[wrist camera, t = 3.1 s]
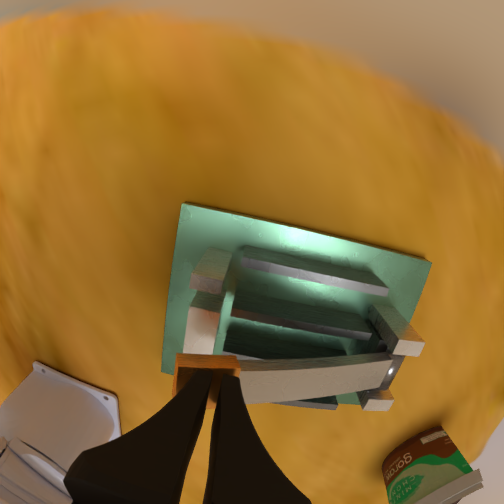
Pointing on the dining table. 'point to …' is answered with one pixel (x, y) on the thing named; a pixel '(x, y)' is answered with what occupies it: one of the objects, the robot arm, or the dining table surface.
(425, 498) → the food container
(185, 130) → the dining table surface
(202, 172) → the dining table surface
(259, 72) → the dining table surface
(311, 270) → the green base metal fixture
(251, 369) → the grey and orange bar
